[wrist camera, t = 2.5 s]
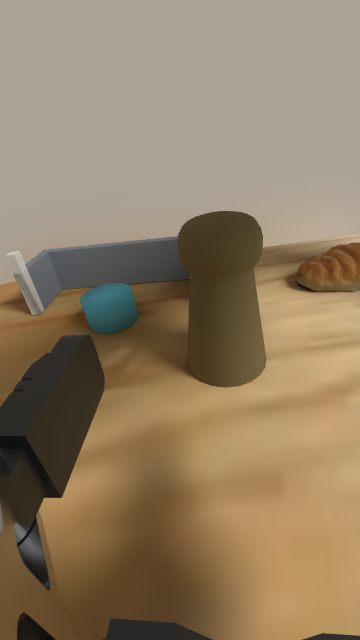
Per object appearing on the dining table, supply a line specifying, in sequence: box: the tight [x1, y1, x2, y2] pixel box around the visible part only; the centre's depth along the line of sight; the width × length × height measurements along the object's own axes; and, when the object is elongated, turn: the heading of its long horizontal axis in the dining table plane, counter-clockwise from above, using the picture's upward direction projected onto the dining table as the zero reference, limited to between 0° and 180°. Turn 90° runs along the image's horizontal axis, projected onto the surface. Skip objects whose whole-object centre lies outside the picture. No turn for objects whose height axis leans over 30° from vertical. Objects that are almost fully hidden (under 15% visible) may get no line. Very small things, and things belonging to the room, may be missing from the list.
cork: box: [177, 211, 266, 387], centre depth 21 cm, size 6×6×11 cm
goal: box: [5, 236, 190, 315], centre depth 34 cm, size 20×7×7 cm, turn 86°
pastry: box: [296, 243, 360, 292], centre depth 31 cm, size 9×7×4 cm
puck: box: [81, 283, 138, 334], centre depth 30 cm, size 5×5×3 cm
